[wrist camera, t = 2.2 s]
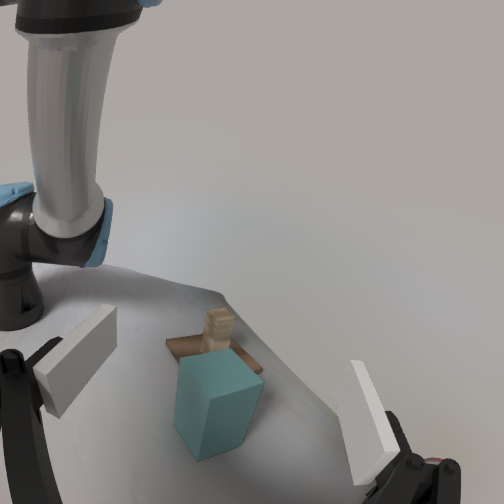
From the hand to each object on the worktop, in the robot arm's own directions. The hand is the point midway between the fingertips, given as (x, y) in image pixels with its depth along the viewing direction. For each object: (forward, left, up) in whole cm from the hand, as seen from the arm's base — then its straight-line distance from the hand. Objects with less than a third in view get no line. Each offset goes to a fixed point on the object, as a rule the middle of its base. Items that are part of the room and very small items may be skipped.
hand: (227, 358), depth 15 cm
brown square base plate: (-22, +15, -21) cm, 34 cm away
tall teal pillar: (-8, +6, -21) cm, 23 cm away
